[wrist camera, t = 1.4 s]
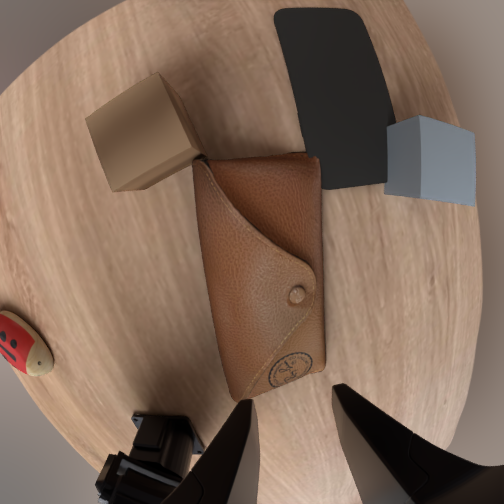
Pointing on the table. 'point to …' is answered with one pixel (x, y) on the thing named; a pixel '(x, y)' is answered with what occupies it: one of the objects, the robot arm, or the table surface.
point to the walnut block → (144, 135)
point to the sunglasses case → (263, 267)
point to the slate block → (431, 161)
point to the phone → (337, 94)
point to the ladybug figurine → (23, 346)
